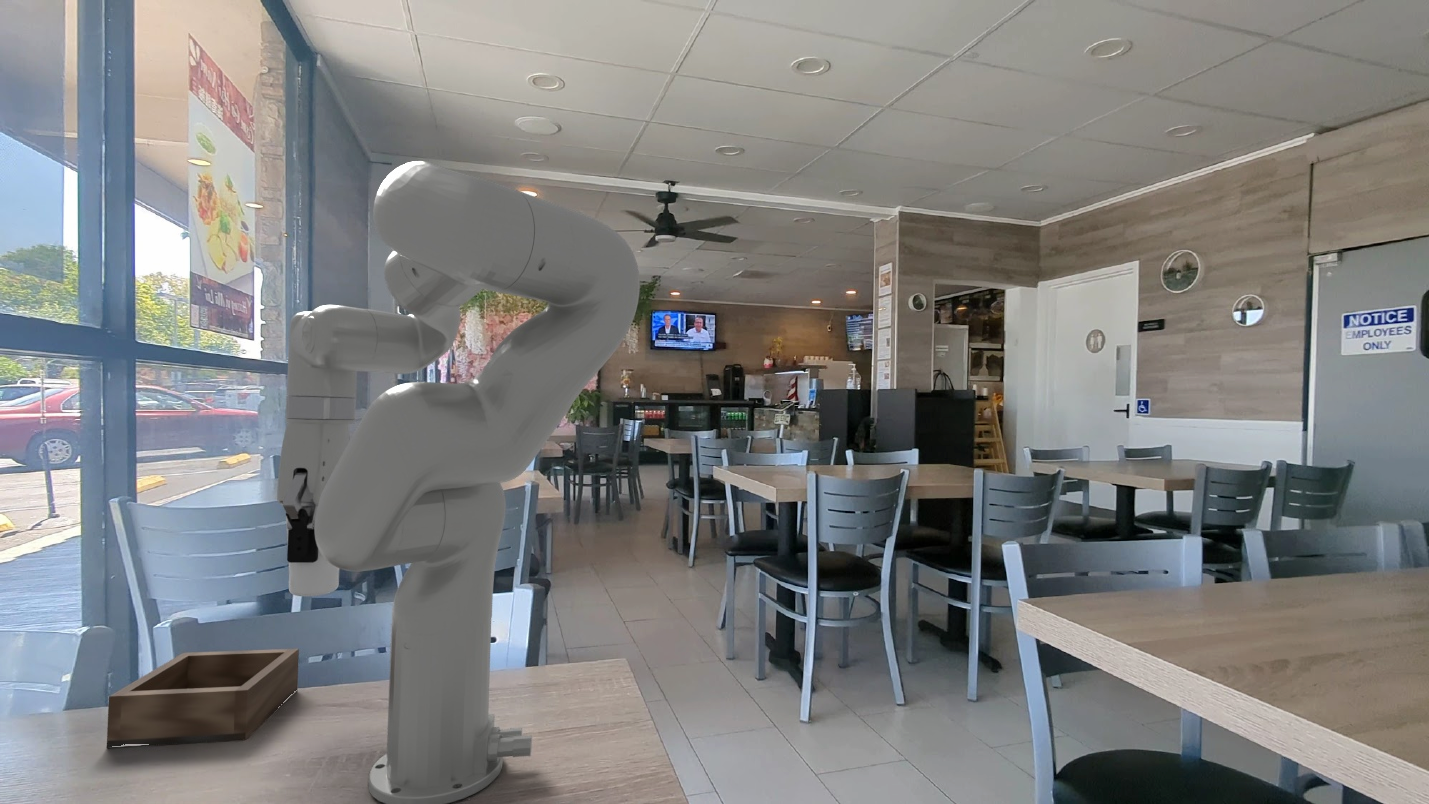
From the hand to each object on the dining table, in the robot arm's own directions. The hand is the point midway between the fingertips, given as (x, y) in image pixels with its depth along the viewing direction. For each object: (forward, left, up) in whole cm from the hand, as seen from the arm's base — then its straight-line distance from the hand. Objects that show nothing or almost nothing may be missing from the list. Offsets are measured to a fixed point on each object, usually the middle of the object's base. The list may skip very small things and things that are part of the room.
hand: (315, 554), depth 84 cm
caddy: (+10, +2, -19) cm, 21 cm away
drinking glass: (0, 0, -5) cm, 5 cm away
